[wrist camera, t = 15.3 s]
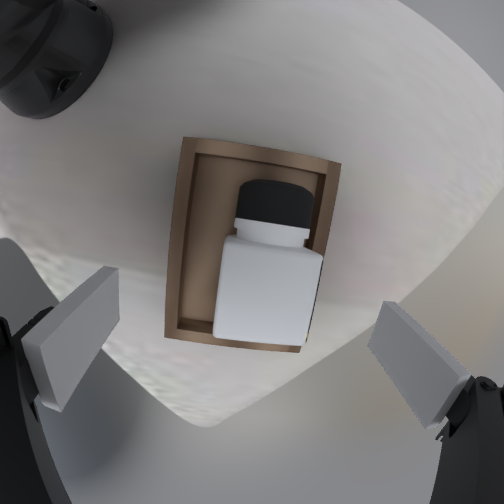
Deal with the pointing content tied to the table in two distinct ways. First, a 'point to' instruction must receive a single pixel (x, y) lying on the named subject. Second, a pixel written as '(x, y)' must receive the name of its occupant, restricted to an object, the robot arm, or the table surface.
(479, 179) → the table surface
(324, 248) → the walnut tray
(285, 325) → the medicine bottle
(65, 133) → the table surface
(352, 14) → the table surface
